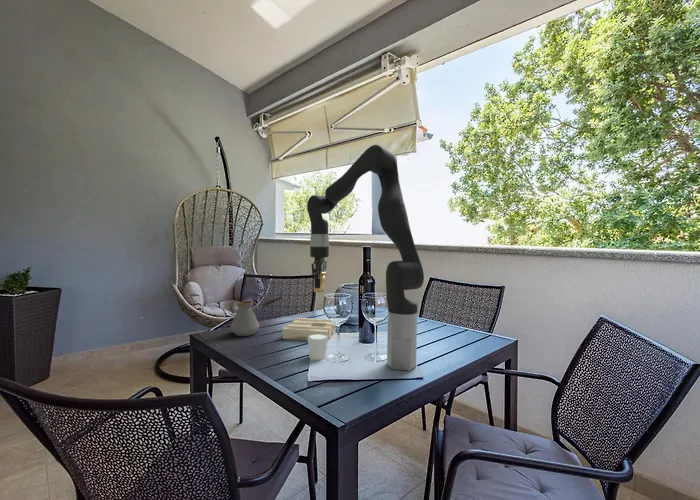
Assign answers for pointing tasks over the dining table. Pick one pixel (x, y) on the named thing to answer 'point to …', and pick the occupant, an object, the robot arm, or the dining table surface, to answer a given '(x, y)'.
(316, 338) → the shot glass
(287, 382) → the dining table surface
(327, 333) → the jig
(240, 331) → the coffee pot
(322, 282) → the bushing
